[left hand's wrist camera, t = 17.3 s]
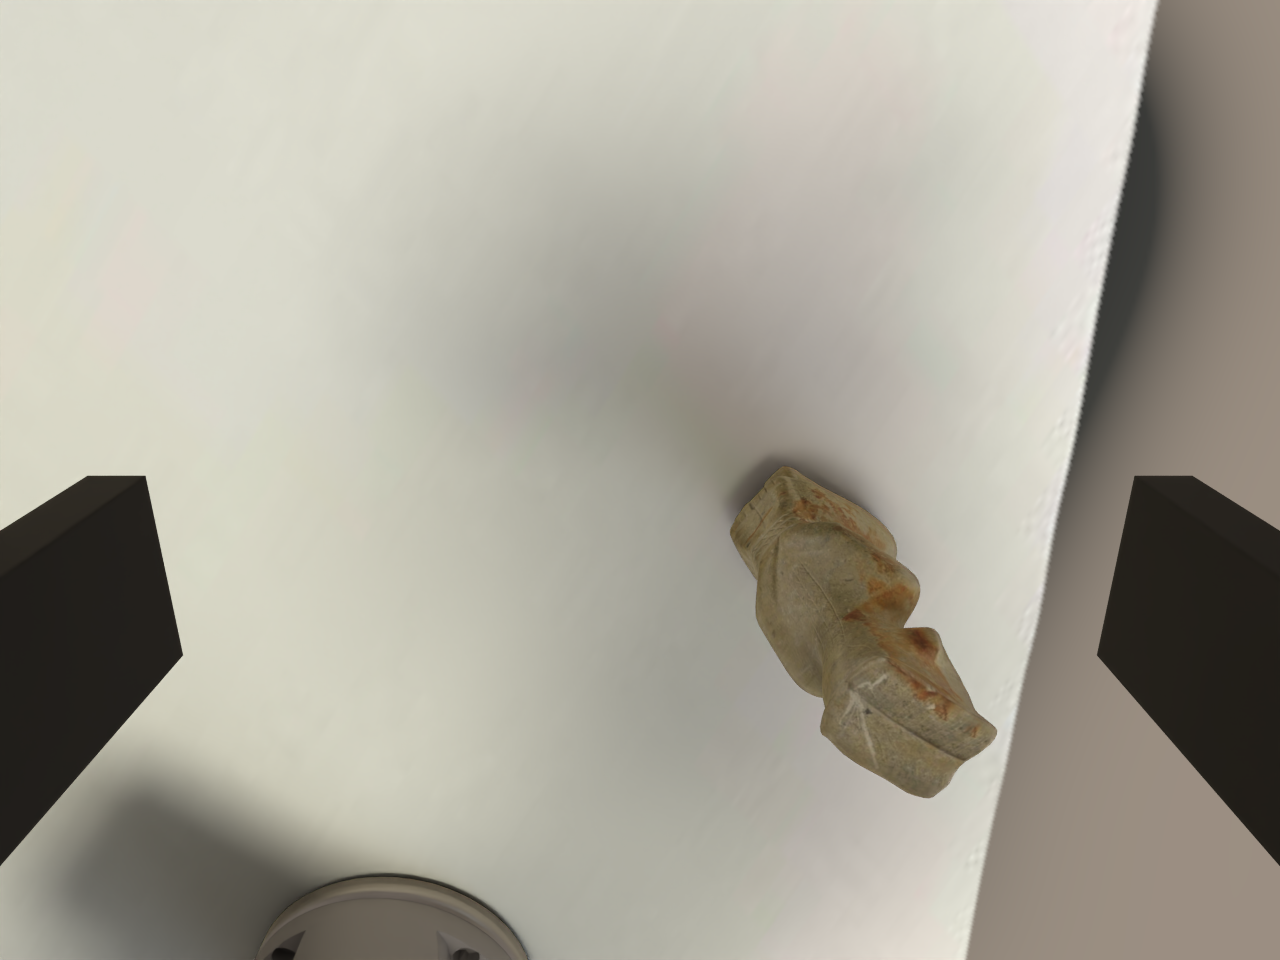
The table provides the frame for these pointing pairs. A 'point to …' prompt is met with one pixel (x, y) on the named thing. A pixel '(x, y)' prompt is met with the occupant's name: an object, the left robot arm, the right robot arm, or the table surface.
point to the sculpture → (856, 634)
